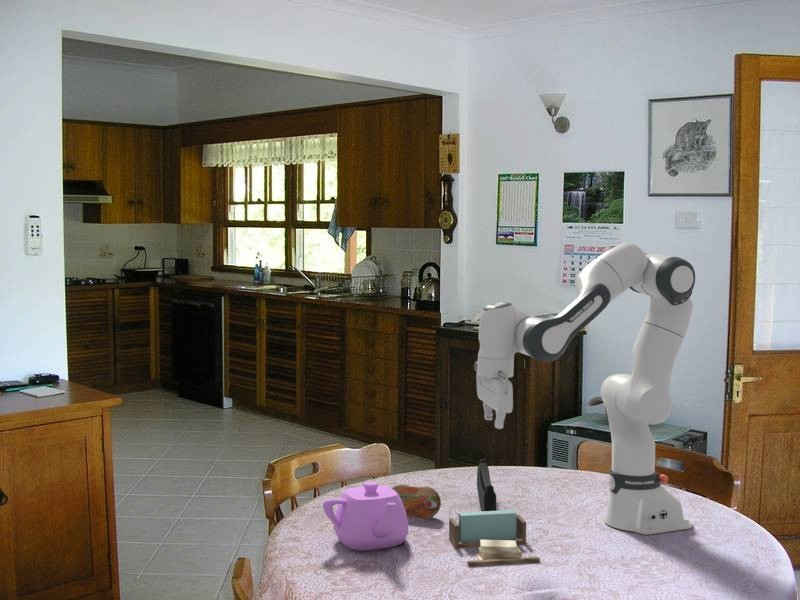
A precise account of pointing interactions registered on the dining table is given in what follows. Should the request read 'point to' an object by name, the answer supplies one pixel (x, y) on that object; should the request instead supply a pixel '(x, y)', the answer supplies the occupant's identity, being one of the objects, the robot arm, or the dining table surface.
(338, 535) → the teapot
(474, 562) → the rack
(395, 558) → the dining table surface
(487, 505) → the magazine
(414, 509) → the tin
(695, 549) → the dining table surface
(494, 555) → the offcut middle
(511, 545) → the offcut top
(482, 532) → the board
